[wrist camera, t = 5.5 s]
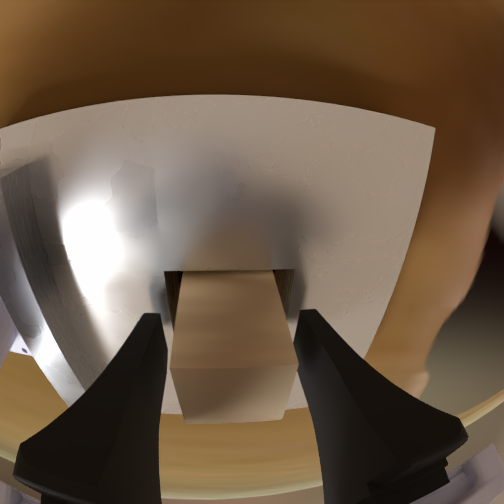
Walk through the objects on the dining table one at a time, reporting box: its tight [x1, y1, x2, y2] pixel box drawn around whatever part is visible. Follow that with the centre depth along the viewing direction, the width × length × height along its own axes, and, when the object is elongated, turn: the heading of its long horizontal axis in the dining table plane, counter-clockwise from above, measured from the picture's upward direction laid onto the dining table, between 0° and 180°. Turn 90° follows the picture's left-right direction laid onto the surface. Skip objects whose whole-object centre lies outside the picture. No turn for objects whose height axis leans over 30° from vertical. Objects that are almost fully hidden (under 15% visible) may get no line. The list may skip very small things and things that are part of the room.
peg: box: [169, 270, 299, 423], centre depth 10 cm, size 3×3×7 cm
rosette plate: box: [0, 95, 435, 414], centre depth 11 cm, size 18×16×5 cm
